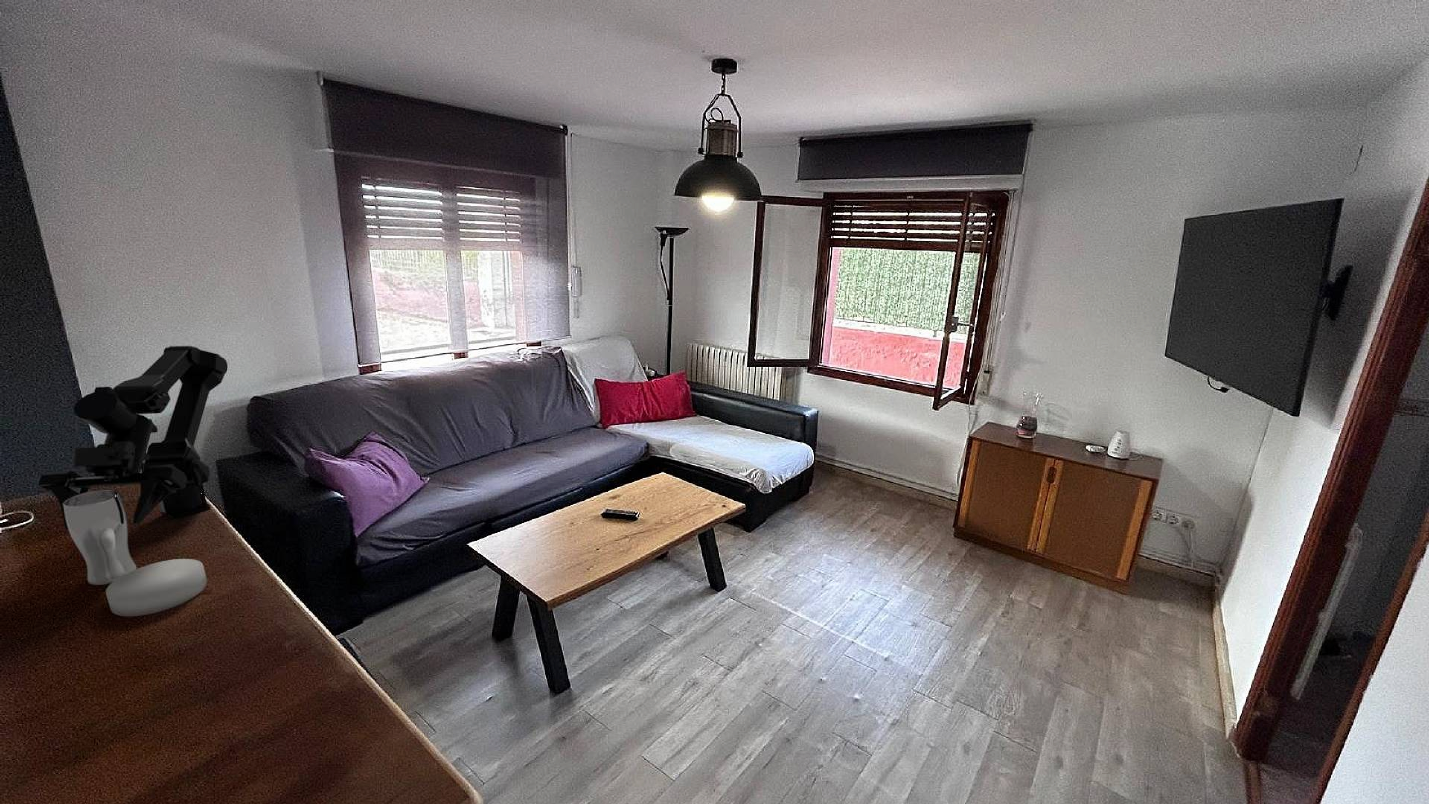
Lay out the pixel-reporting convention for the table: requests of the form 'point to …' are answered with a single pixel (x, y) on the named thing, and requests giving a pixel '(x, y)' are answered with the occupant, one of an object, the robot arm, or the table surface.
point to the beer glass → (100, 534)
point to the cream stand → (156, 587)
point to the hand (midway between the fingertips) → (102, 526)
